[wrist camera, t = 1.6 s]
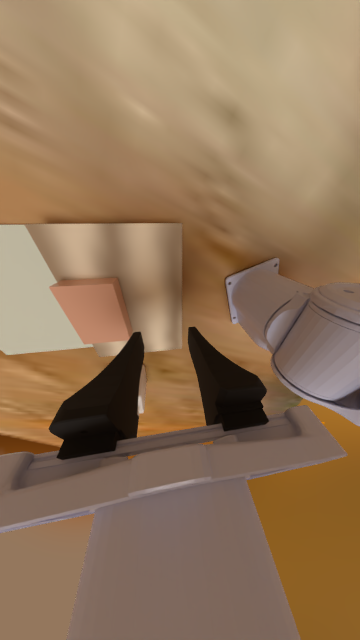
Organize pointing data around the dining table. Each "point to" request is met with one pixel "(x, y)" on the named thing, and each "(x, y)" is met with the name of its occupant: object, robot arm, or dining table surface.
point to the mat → (29, 299)
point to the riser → (124, 272)
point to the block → (94, 309)
